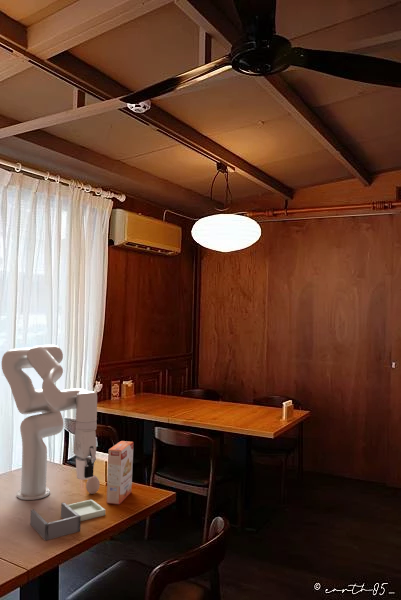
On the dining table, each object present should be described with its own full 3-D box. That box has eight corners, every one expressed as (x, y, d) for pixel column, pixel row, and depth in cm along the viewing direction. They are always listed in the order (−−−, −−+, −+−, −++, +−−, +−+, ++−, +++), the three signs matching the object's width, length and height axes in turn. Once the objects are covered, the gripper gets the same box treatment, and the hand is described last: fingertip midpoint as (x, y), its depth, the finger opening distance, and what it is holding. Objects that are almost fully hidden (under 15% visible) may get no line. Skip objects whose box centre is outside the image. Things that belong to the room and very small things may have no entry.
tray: (62, 511, 181) (62, 506, 181) (91, 504, 188) (91, 499, 188) (74, 522, 172) (75, 516, 172) (105, 515, 179) (105, 509, 179)
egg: (84, 495, 197) (84, 477, 197) (87, 491, 202) (88, 473, 202) (97, 496, 197) (98, 477, 197) (100, 491, 202) (101, 473, 202)
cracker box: (120, 505, 188) (122, 450, 189) (105, 503, 189) (107, 449, 190) (132, 492, 202) (134, 441, 202) (118, 490, 203) (120, 440, 204)
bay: (30, 524, 170) (30, 509, 170) (63, 516, 177) (64, 502, 177) (45, 540, 158) (45, 524, 158) (80, 531, 165) (80, 516, 166)
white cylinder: (71, 478, 178) (71, 459, 178) (82, 473, 185) (82, 454, 185) (87, 481, 176) (87, 461, 176) (98, 475, 182) (98, 456, 182)
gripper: (67, 422, 185) (65, 470, 185) (86, 431, 172) (85, 483, 171) (85, 419, 190) (84, 466, 189) (106, 428, 176) (104, 479, 176)
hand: (84, 473), depth 180 cm, fingers closed on white cylinder, 6 cm apart
